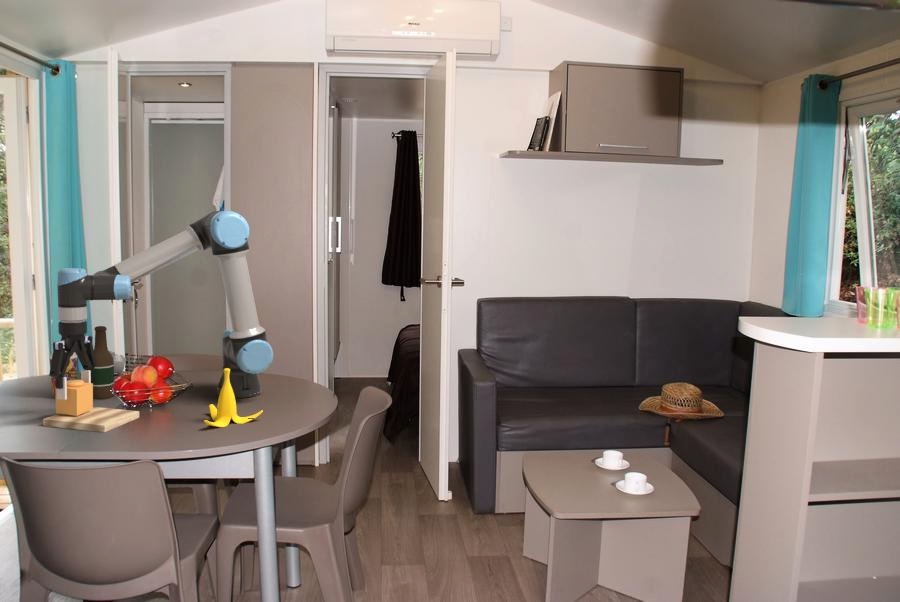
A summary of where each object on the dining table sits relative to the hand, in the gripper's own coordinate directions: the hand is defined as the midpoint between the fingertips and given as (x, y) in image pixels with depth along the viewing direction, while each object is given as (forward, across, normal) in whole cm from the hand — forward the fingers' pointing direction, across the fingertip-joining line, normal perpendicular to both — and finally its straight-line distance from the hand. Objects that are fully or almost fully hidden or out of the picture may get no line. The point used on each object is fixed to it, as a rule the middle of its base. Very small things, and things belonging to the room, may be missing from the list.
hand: (74, 395), depth 213 cm
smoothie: (+8, -22, -22) cm, 32 cm away
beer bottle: (+8, -26, -10) cm, 29 cm away
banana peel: (+8, -10, +42) cm, 44 cm away
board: (+8, 0, +6) cm, 10 cm away
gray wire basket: (+8, -54, -21) cm, 58 cm away
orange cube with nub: (+5, 0, 0) cm, 5 cm away
